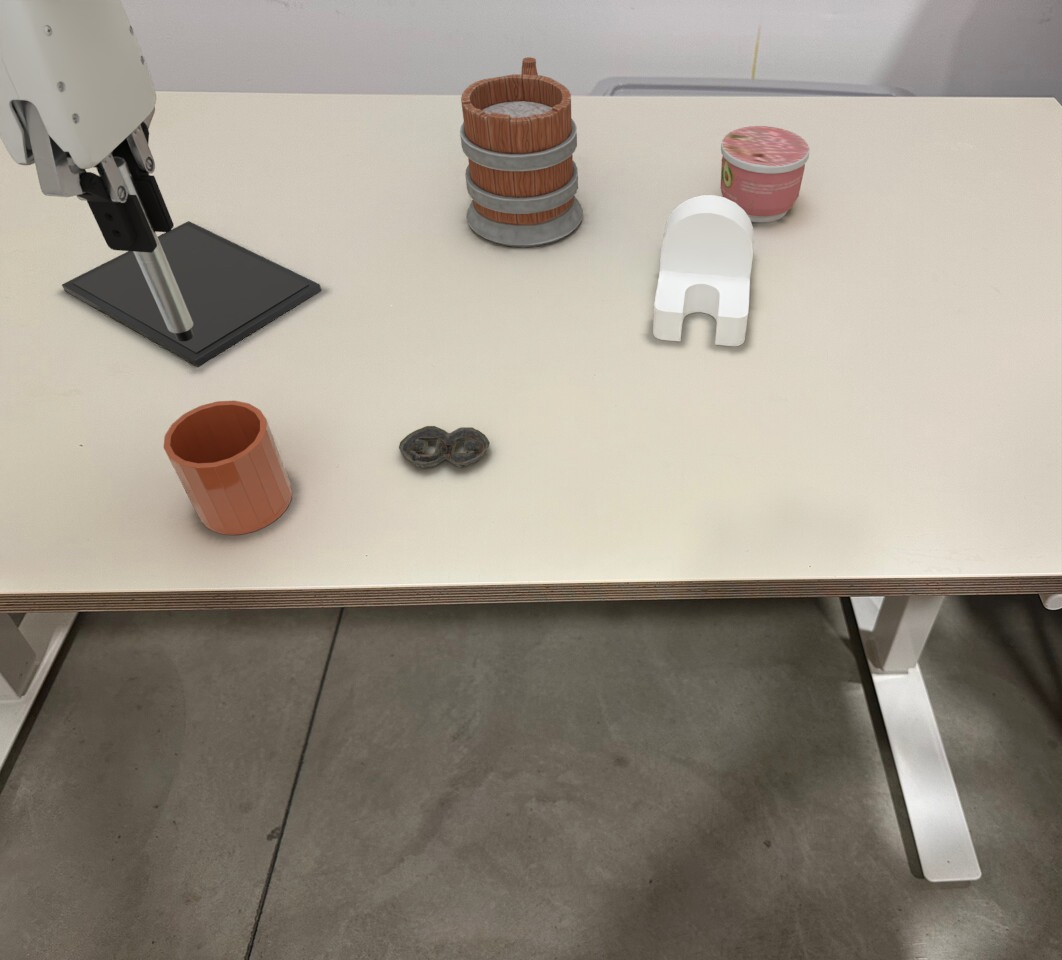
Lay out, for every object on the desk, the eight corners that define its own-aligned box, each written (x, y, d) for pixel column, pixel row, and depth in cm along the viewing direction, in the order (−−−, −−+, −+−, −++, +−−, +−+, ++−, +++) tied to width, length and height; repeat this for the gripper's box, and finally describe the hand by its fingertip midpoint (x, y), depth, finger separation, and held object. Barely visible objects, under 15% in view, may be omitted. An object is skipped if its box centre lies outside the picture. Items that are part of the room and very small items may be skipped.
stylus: (182, 347, 67) (105, 172, 57) (167, 338, 67) (89, 164, 57) (203, 335, 68) (131, 161, 58) (188, 326, 68) (114, 153, 58)
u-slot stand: (651, 338, 93) (655, 248, 85) (667, 245, 105) (672, 158, 97) (744, 347, 92) (756, 256, 84) (748, 252, 104) (760, 165, 97)
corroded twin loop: (487, 472, 79) (486, 464, 78) (396, 472, 78) (394, 463, 78) (493, 433, 82) (492, 425, 81) (405, 432, 82) (403, 424, 81)
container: (725, 180, 116) (731, 120, 110) (805, 193, 114) (815, 132, 108) (707, 220, 109) (712, 158, 103) (792, 234, 107) (802, 172, 101)
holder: (239, 549, 72) (207, 482, 66) (178, 508, 75) (142, 440, 69) (311, 493, 77) (287, 425, 71) (251, 456, 79) (223, 388, 74)
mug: (457, 246, 104) (440, 120, 93) (483, 166, 117) (470, 47, 106) (578, 251, 103) (574, 125, 93) (590, 171, 117) (588, 52, 106)
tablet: (197, 367, 88) (194, 359, 87) (64, 290, 96) (60, 283, 95) (321, 290, 97) (319, 283, 96) (190, 226, 105) (188, 220, 104)
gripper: (26, -106, 54) (142, 179, 67) (-156, -15, 43) (27, 302, 56) (147, -99, 53) (240, 185, 67) (-4, -7, 43) (143, 310, 56)
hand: (142, 237), depth 61 cm, fingers closed on stylus, 1 cm apart
